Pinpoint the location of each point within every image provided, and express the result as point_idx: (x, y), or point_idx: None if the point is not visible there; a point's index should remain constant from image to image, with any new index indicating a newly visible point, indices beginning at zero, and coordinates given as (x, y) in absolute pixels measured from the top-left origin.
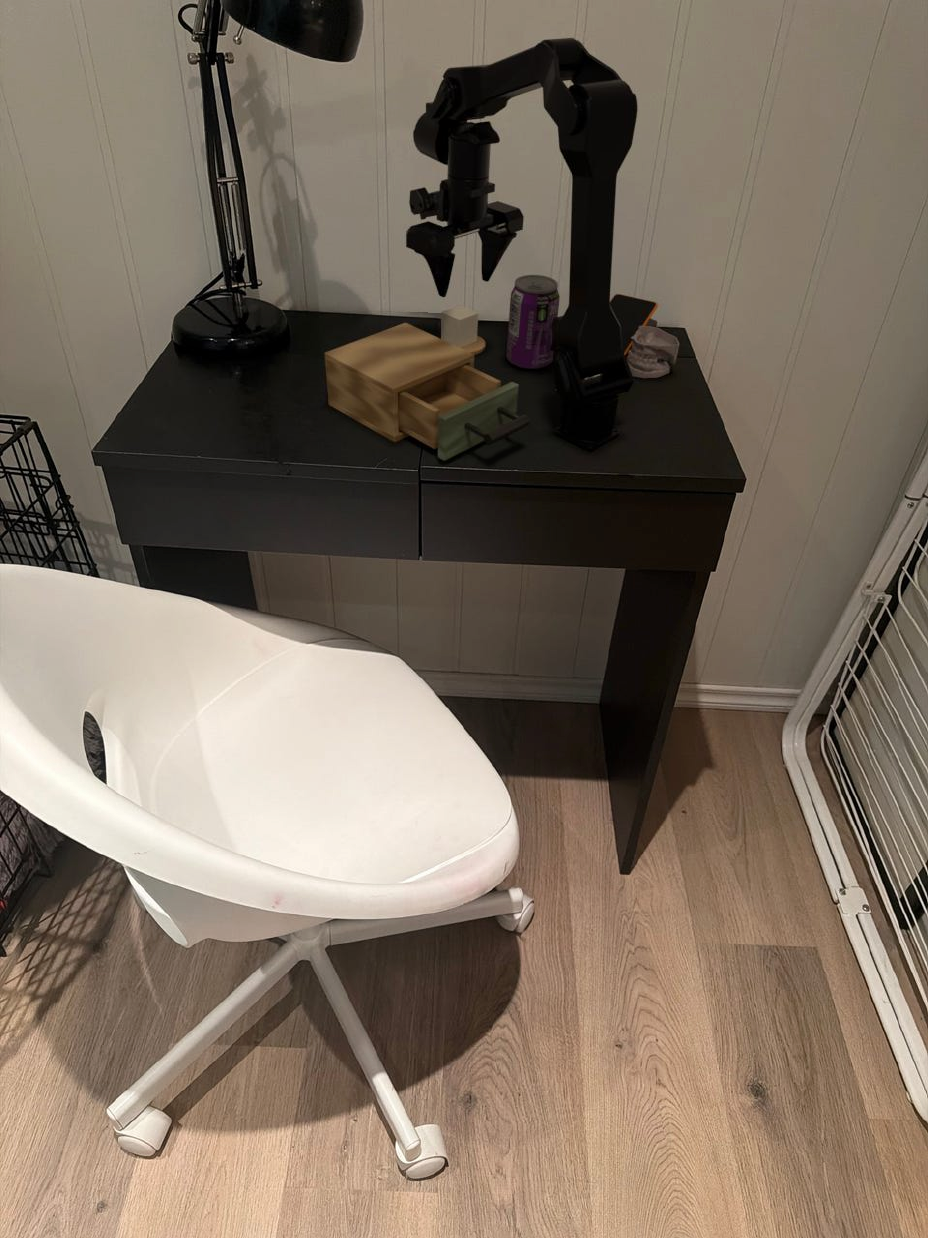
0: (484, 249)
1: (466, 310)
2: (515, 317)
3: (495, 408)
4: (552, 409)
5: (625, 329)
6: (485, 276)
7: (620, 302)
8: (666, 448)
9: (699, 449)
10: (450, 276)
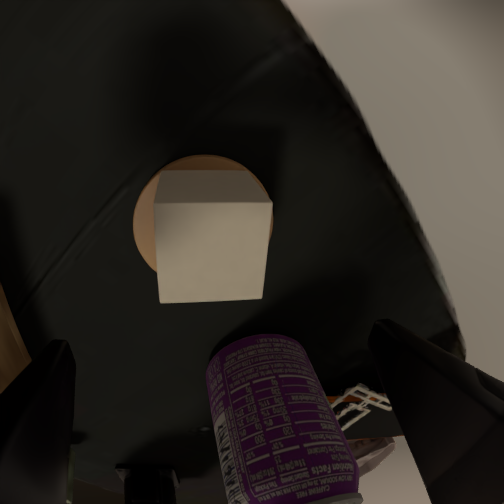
0: (468, 418)
1: (246, 259)
2: (222, 463)
3: None
4: (155, 447)
5: (389, 427)
6: (379, 350)
7: None
8: (198, 496)
9: (220, 500)
10: (64, 486)
